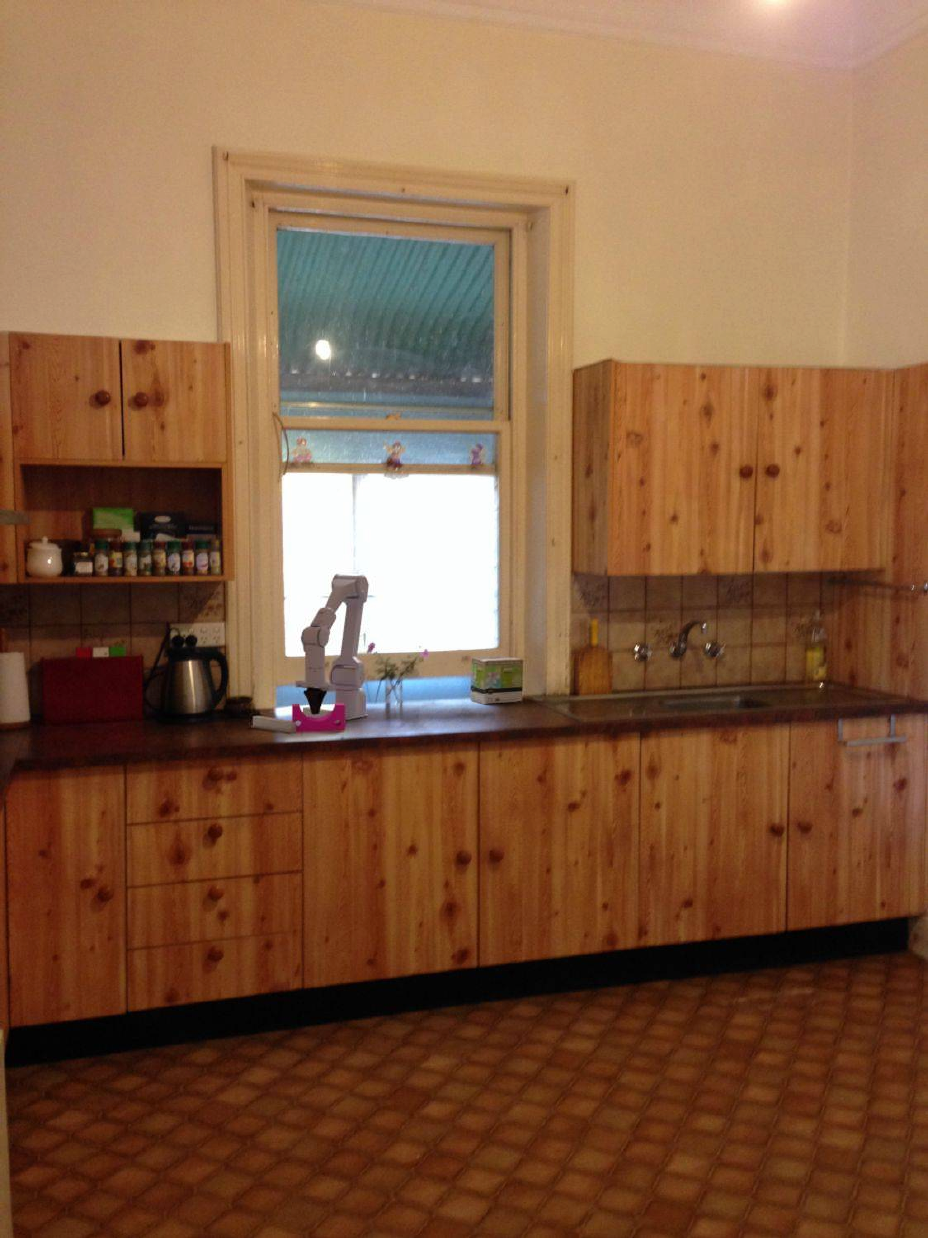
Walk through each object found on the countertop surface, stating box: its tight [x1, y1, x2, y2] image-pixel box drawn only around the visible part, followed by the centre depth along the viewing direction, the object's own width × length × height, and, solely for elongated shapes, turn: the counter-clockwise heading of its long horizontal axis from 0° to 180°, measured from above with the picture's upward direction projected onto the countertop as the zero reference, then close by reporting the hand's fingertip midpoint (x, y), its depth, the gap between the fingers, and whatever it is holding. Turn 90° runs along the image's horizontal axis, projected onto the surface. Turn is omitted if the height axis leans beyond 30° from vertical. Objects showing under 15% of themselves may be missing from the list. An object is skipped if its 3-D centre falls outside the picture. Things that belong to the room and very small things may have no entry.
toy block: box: [291, 702, 346, 733], centre depth 314 cm, size 15×6×8 cm, turn 99°
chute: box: [250, 706, 348, 734], centre depth 321 cm, size 24×16×3 cm
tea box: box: [470, 656, 524, 705], centre depth 366 cm, size 15×10×15 cm, turn 119°
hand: (315, 714), depth 317 cm, fingers closed
